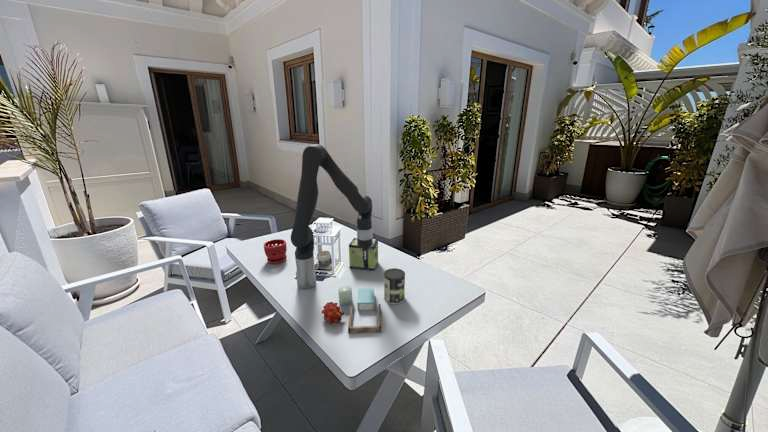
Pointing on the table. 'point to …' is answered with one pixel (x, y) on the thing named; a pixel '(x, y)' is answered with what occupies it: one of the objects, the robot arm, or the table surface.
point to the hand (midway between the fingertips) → (366, 267)
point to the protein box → (356, 255)
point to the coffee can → (394, 286)
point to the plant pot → (275, 251)
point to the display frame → (364, 328)
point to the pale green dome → (345, 295)
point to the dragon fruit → (332, 312)
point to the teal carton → (366, 299)
